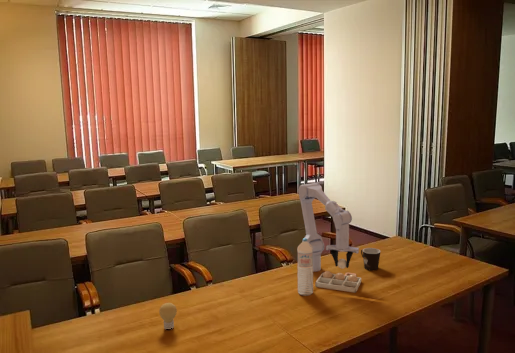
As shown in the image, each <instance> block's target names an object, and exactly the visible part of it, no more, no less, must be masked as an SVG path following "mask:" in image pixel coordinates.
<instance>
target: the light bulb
mask: <svg viewBox="0 0 515 353" xmlns="http://www.w3.org/2000/svg"><path fill="white" fill-rule="evenodd" d="M177 311H178V310H177V307H176V305H175V304H173V303H172V302H166V303H163V304H162V305H161V306H160V307H159V311H158V312H159V315H160V316H159V317H160V318H161V319H162V320H163V329H164V330H166V329H171V328H172V329H174V327H175V324H174V319H175V317H176V315H177ZM172 329H171V330H172Z"/></svg>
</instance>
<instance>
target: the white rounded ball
mask: <svg viewBox="0 0 515 353" xmlns="http://www.w3.org/2000/svg"><path fill="white" fill-rule="evenodd" d="M346 263H347V259H344V258H339V259H338V262H337V265H338V266H337V267H338V268H339V269H341V270H342V269H345V268H346Z"/></svg>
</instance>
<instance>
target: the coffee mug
mask: <svg viewBox="0 0 515 353" xmlns="http://www.w3.org/2000/svg"><path fill="white" fill-rule="evenodd" d="M360 254H361V257H362V258H363V268H364V269H365V270H366V271H377V270H378V269H379V263H380V258H381V257H380V256H381V250H380V249H379V248H374V247H365V248H363V249H361V250H360Z"/></svg>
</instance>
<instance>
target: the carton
mask: <svg viewBox="0 0 515 353" xmlns="http://www.w3.org/2000/svg"><path fill="white" fill-rule="evenodd" d="M361 282H362V277H358V276H357V274H356V275H353V274H352V275H347V276H345V274H344V273H342V272H337V273H332V272H331V271H329V270H326V271H324V272H322V273H321V274H320V275H319V277H318V278H317V279H316V281H315V286H314V287H316V288H322V289H323V288H324V289H328V290H334V291H335V290H337V291H341V292H343V291H344V292H348V293H354V294H356V293H357V291H358V290H359V287H360V285H361V284H362V283H361Z"/></svg>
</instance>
